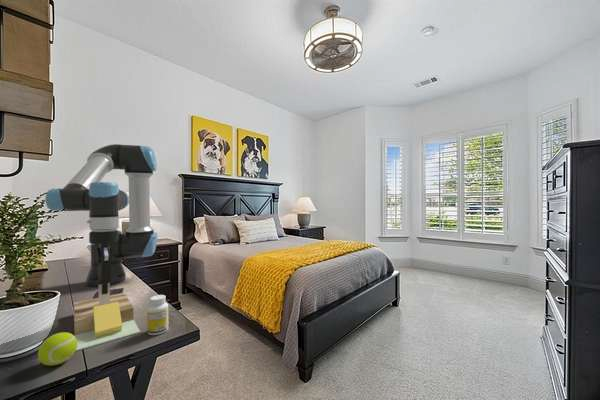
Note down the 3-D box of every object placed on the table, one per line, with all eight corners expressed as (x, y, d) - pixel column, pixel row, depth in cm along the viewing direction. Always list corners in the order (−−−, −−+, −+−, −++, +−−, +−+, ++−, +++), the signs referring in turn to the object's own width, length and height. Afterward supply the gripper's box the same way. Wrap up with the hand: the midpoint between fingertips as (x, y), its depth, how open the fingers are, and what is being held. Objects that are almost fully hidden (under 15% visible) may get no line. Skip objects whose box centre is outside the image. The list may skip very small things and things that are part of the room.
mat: (74, 336, 72) (74, 335, 72) (133, 320, 81) (133, 319, 81) (75, 351, 64) (75, 350, 64) (140, 332, 74) (140, 331, 74)
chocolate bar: (123, 287, 111) (119, 301, 96) (123, 290, 111) (119, 303, 96) (97, 291, 107) (88, 306, 91) (97, 293, 107) (88, 309, 91)
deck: (73, 314, 86) (73, 302, 86) (124, 303, 95) (124, 292, 95) (74, 335, 72) (74, 321, 72) (133, 320, 81) (133, 307, 82)
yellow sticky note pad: (93, 312, 76) (93, 306, 75) (117, 306, 80) (118, 301, 79) (95, 337, 70) (95, 332, 69) (121, 330, 74) (122, 325, 73)
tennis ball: (73, 351, 64) (73, 324, 64) (80, 361, 60) (80, 332, 60) (35, 364, 59) (35, 335, 59) (40, 376, 55) (40, 345, 55)
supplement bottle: (154, 326, 77) (154, 293, 77) (172, 326, 77) (172, 293, 77) (142, 335, 72) (143, 300, 72) (161, 336, 72) (162, 300, 72)
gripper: (87, 229, 85) (87, 300, 85) (90, 233, 76) (90, 313, 76) (115, 227, 90) (115, 294, 91) (121, 231, 81) (121, 306, 81)
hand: (104, 303), depth 83 cm, fingers closed
